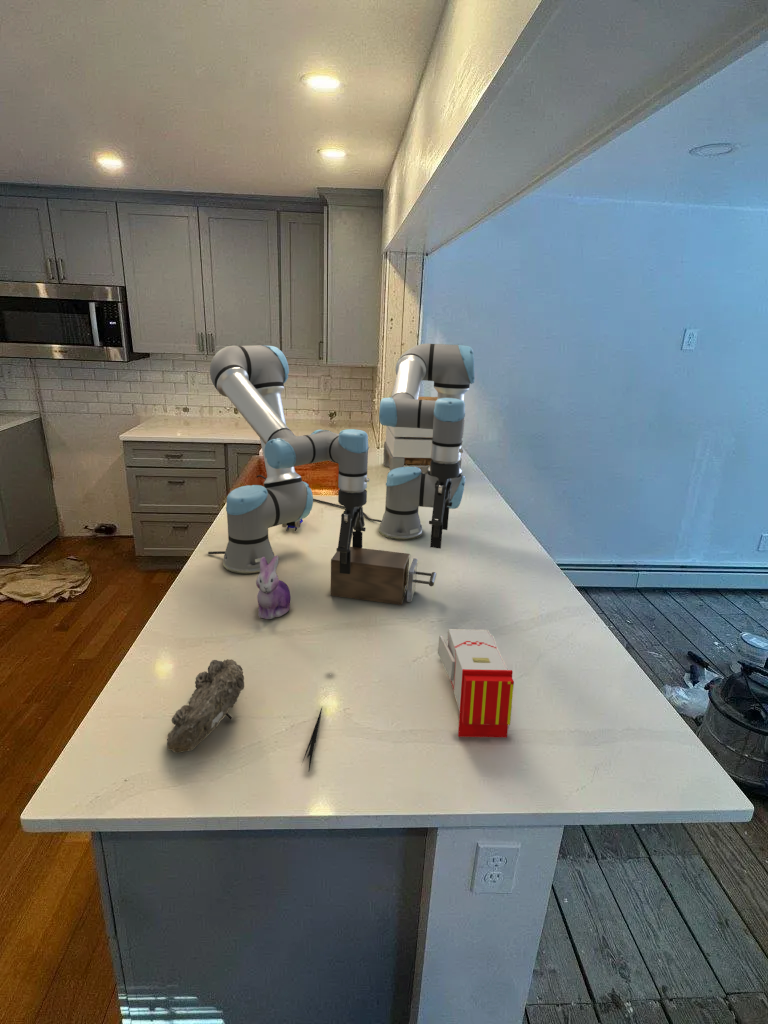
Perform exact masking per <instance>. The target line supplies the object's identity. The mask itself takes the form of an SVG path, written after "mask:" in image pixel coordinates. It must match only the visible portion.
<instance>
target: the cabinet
mask: <svg viewBox="0 0 768 1024" xmlns="http://www.w3.org/2000/svg"><path fill="white" fill-rule="evenodd" d="M350 550H351V562H350V574H343V573H340V552H338V551H337V550H336V552H335V553H334V555H333V556H332V557H331V559H330V596H333V597H340V598H346V599H347V598H348V599H355V600H362V601H370V602H377V603H384V604H392V605H399V606H402V605H403V603H404V600H405V597H406V595H407V590H408V574H409V569H410V553H405V552H398V551H390V550H383V549H373V548H364V547H362V548H357V547H352V546H350ZM407 562H408V569H407V584H406V589H405V592H404V595H403V583H404V569H405V567H406V564H407Z"/></svg>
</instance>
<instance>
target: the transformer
mask: <svg viewBox="0 0 768 1024" xmlns="http://www.w3.org/2000/svg"><path fill="white" fill-rule="evenodd" d="M437 397H438V396H418V400H433V401H436V400H437ZM464 422H465V419H464ZM385 427H386V428H385V438H384V442H383V466H384V467H388V468H389V472H390V471H391V470H393V469H396V468H399V467H405V466H406V467H417V466H418V467H430V462H431V461H432V459H431V446H432V440H433V429H422V428H407V427H392V426H385ZM464 429H465V425H464V426H463V433H464V431H465V430H464ZM463 438H464V434H463V435H462V439H463ZM463 442H464V441H463V440H462V445H461V448H460V449H463ZM462 461H463V460H462V456H461V457H460V460H459V461H458V462H459V463H460V469H461V470H462Z"/></svg>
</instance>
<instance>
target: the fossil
mask: <svg viewBox="0 0 768 1024" xmlns="http://www.w3.org/2000/svg"><path fill="white" fill-rule="evenodd" d="M243 670H244V669H243V667H242V665H240V664H237V662H236V661H235V660H234V659H232V658H231V659H227V658H226V659H224V660H223V661H222V660H217V659H212V660H211V661H210V663H209V665H208V666H207V671H201V672H199V673H198V674H197V675H196V676H195V680H194V684H195V685H194V687H195V689H194V690H193V693H192V694H191V697H190V698H189V700H188V704H184V705H182V706H181V707H180V709H177V710H176V711H175V713H174V715H173V716H172V718H171V723H172V724H173V727H172V730H171V731H170V732H168V734H167V738H166V741H167V742H166V745H167V749H168V750H169V751H173V752H174V753H176V754H178V753H182V752H188V751H189V752H192V751H193V750H195V748H196V747H197V746H199V744H200V743H201V742H203V741H204V740H205V739H206V738H207V737H208V736H209V735H210V734H211V733H212V732H214V730H215V729H217V727H218V726H219V724H220V722H221V721H222V720H223V719H224V718H225V716H226V717H227V719H229V720H233V717H232V715H230V714H229V710H230V709H231V708H234V706H235V704H236V703H237V702H238V699H239V697H240V695H241V693H242V691H243V690H245V689H244V688H245V675H244V671H243Z"/></svg>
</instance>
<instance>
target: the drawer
mask: <svg viewBox="0 0 768 1024" xmlns="http://www.w3.org/2000/svg"><path fill="white" fill-rule="evenodd" d="M418 561H419V559H418V558H416V557H413V558H412V561H411V563H410V565H409V571H408V587H407V591H406V602H408V603H412V600H413V597H414V594H415V590H416V589H417V588H416V587H417V584H423V585H428V586H429V587H434V586H435V582H436V578H437V573H436V572H435V571H432V572H424V571H423V572H422V571H418ZM407 569H408V562H407V564H406V567H405V569H404V583H403V595H404V592H405V589H406V584H407ZM418 575H420V576H428V577H429V580H418V579H417V576H418Z"/></svg>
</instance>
